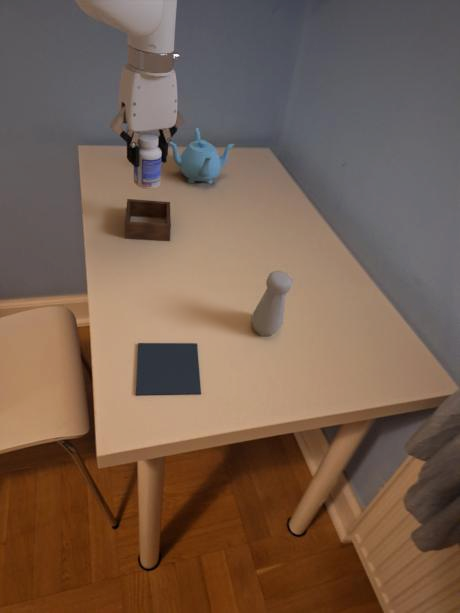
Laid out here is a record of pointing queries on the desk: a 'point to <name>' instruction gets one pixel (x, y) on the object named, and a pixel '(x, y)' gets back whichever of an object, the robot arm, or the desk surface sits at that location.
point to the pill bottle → (148, 162)
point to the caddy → (147, 229)
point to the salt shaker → (272, 304)
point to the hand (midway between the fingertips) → (147, 160)
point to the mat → (167, 369)
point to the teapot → (200, 160)
